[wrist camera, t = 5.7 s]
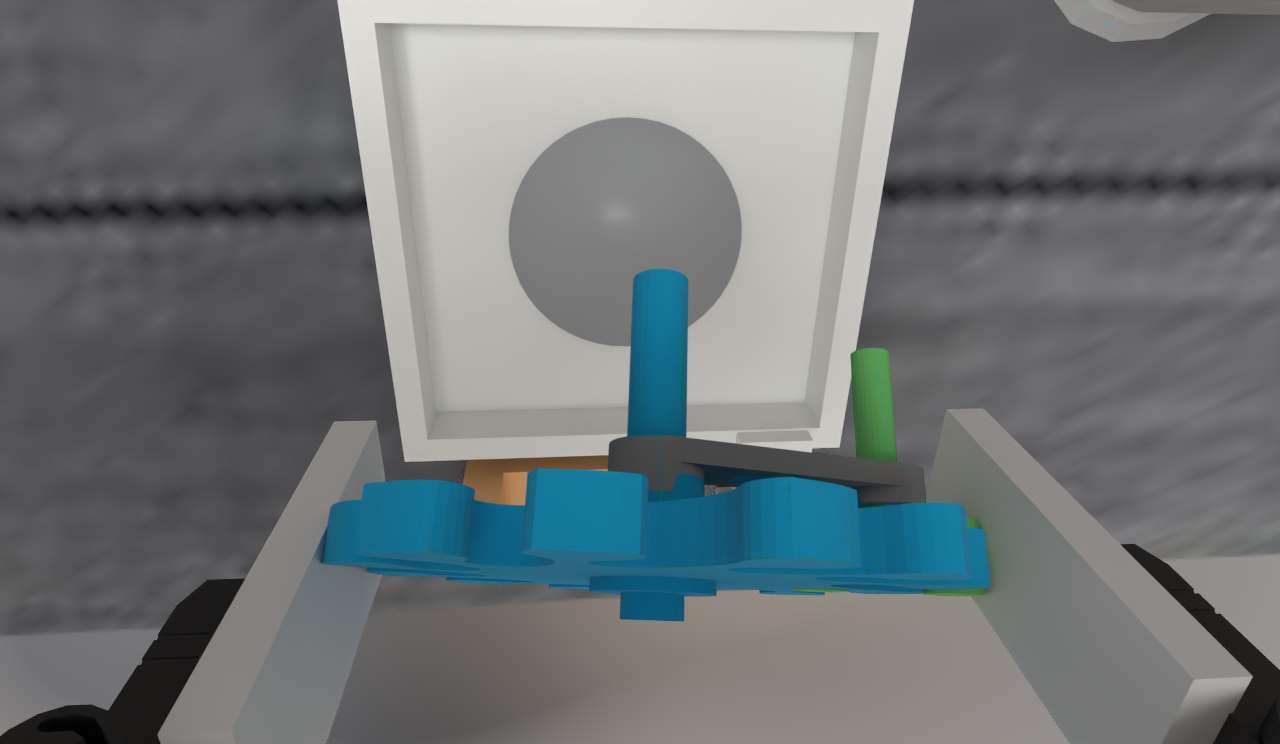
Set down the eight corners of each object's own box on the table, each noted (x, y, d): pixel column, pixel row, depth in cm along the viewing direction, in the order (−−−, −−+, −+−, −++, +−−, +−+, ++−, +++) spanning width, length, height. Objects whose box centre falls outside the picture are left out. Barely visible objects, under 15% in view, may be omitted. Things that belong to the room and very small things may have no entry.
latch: (474, 490, 34) (461, 564, 30) (470, 445, 33) (455, 515, 29) (664, 483, 35) (679, 554, 30) (666, 439, 34) (682, 506, 29)
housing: (430, 515, 35) (415, 571, 31) (359, -14, 25) (327, -16, 21) (804, 500, 36) (829, 552, 33) (878, -2, 26) (925, -2, 23)
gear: (326, 607, 15) (274, 608, 6) (371, 329, 17) (384, 1, 8) (811, 625, 18) (1253, 642, 9) (802, 393, 20) (1163, 219, 11)
